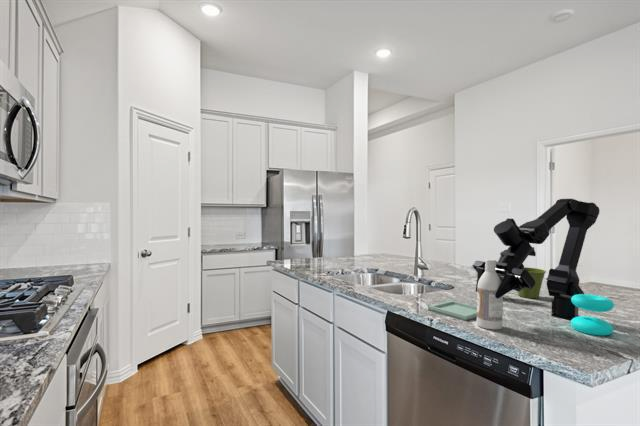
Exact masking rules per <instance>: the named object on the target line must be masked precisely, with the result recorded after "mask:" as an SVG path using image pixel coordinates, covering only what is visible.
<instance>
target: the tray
mask: <svg viewBox="0 0 640 426" xmlns="http://www.w3.org/2000/svg"><path fill="white" fill-rule="evenodd" d="M427 308H428V309H427V310H428V311H430V312H433V313H436V314H439V315H444V316H446V317H451V318H453V319H458V320H460V321H465V322H466V321H470V320H473V319H477V305H476V306H475V305H472V304H468V303H463V302H461V301H460V302H459V301H455V300H448V301H444V302H439V303H434V304H430V305H428V306H427Z"/></svg>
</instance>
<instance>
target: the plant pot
mask: <svg viewBox="0 0 640 426" xmlns="http://www.w3.org/2000/svg"><path fill="white" fill-rule="evenodd" d="M524 269H527V270H528V271H529V273H530V274H531V275H532V277H533V278H534V280H535V285H534V287H533V288H532V289H528V288H524V289H522V290H521V291H517V294H518V296H521V297H522V298H526V299H539V297H540V293H541V288H542V283H543V280H544V278H545V274H547V270H545V269H541V268H536V267H527V266H524Z"/></svg>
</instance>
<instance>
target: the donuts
mask: <svg viewBox="0 0 640 426" xmlns="http://www.w3.org/2000/svg"><path fill="white" fill-rule="evenodd" d="M571 301H572V303H573V304H574V305H575V306H576V307H578V309H580V310H583V311H584V310H585V311H590V312H596V313H606V312H609V311H612V310H613V309H614V307H615V303H614V301H612V300H611V299H610V298H608V297H605V296H601V295H595V294H588V293H584V294H577V295H574V296H572V298H571ZM570 326H571V327H572V328H573V330H576V331H578V332H581V333H583V334H588V335H592V336H593V335H594V336H600V337H601V336H603V337H604V336H609V335H612V334H613V332H614V327H613V325H612V324H611V323H610V322H608V321H606V320H604V319H603V318H598V317H594V316H588V315H587V316H586V315H579V316H578V317H575V318H573V319H572V320H570Z"/></svg>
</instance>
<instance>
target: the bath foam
mask: <svg viewBox="0 0 640 426" xmlns="http://www.w3.org/2000/svg"><path fill="white" fill-rule="evenodd" d="M484 262H486V264H485V272H484V273H483V275H482V276H481V277H480V279H479V281H478V286H477V292H476V306H477V318H476V325H477V326H478V327H480V328H483V329H487V330H493V331H495V330H500V329H502V328H503V306H504V303H503V302H504V301H503V300H504V295H503V296H502V297H500V298H498V299H497V298H496V297H495V295H496V292H497V290H498V288H499V286H500V284H501V280H500V278H499V276H498V275H497V273H496V262H497V259H491V258H485V259H484Z"/></svg>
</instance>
